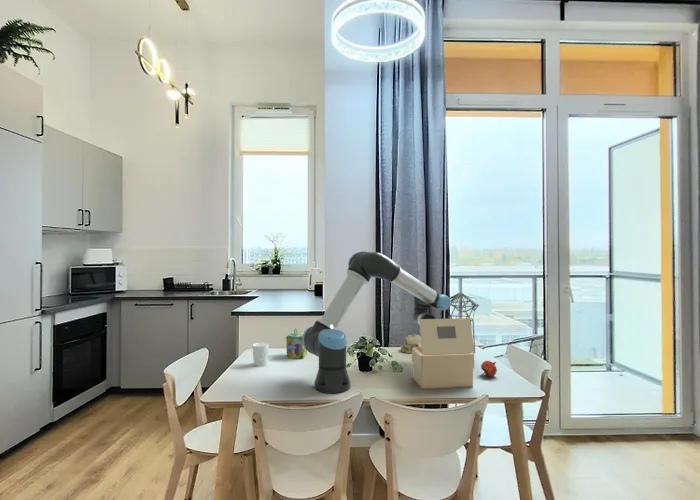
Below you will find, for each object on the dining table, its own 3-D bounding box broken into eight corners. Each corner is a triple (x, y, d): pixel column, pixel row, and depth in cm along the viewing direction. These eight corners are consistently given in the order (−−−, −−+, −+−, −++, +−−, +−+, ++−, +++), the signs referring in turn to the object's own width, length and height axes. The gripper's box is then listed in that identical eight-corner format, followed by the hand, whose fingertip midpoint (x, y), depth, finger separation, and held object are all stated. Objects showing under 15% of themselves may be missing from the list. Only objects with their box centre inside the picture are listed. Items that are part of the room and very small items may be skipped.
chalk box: (302, 359, 217) (302, 331, 217) (286, 358, 218) (286, 330, 218) (307, 354, 226) (307, 327, 226) (291, 353, 227) (291, 326, 227)
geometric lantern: (471, 355, 225) (471, 291, 224) (479, 363, 209) (480, 294, 208) (441, 355, 225) (442, 291, 224) (448, 363, 209) (448, 294, 209)
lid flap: (422, 354, 171) (422, 354, 171) (419, 319, 176) (419, 319, 175) (473, 353, 174) (474, 352, 174) (469, 318, 179) (469, 318, 178)
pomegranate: (486, 384, 185) (504, 370, 185) (476, 370, 186) (493, 357, 186) (482, 380, 192) (499, 367, 193) (472, 367, 193) (489, 354, 193)
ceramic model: (422, 348, 240) (422, 331, 239) (428, 353, 229) (429, 335, 228) (399, 349, 238) (399, 332, 238) (404, 354, 227) (404, 336, 226)
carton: (420, 389, 172) (420, 355, 172) (411, 378, 186) (411, 347, 186) (474, 387, 175) (474, 354, 175) (461, 376, 189) (461, 345, 189)
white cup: (270, 365, 205) (270, 345, 205) (253, 367, 202) (253, 347, 202) (267, 361, 212) (267, 342, 212) (251, 363, 209) (251, 343, 209)
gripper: (439, 328, 207) (458, 339, 183) (414, 329, 205) (429, 340, 182) (439, 313, 207) (458, 322, 183) (414, 314, 205) (430, 323, 181)
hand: (444, 331), depth 182 cm, fingers closed
